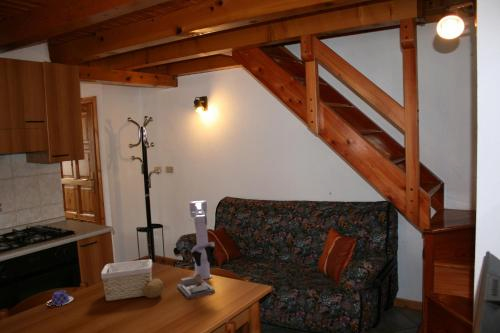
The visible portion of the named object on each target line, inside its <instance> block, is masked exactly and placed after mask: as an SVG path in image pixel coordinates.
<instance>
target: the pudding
mask: <svg viewBox="0 0 500 333" xmlns="http://www.w3.org/2000/svg"><path fill="white" fill-rule="evenodd" d="M73 300H74V297H73V296H72V295H71V296H69V295H68V292H67V291H66V290H64V289H62V290H61V289H60V290H57V291H54V292H53V294H52V298H51V299H50V300H48V301H47V302H46V306H50V307H52V306H51V305H53V304H54V305H56V306H55V307H58V306H59V307H60V306H64V305H66V304H69V303H70V302H72V301H73ZM51 301H52V303H51V305H48V304H47V303H49V302H51ZM61 304H62V305H61Z"/></svg>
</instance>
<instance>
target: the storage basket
mask: <svg viewBox="0 0 500 333" xmlns="http://www.w3.org/2000/svg"><path fill="white" fill-rule="evenodd" d="M152 271H153V260H152V259H151V258H149V259H141V260H131V261H124V262H115V263H114V262H113V263H107V264H105V265H104V267H103V269H102V270H101V273H100V275H101V276H100V277H101V279H102V283H103V290H104V294H105V296H104V297H105V300H106V301H107V302H108V301H109V302H110V301H116V300H117V301H118V300H125V299H132V298H138V297H144V296H145V295H144V294H143V291H142V290H143V287H144V286H145V284H146V283H148V282H149V281H150V280H152V279H153V277H152V276H153V273H152ZM145 297H146V296H145Z"/></svg>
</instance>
